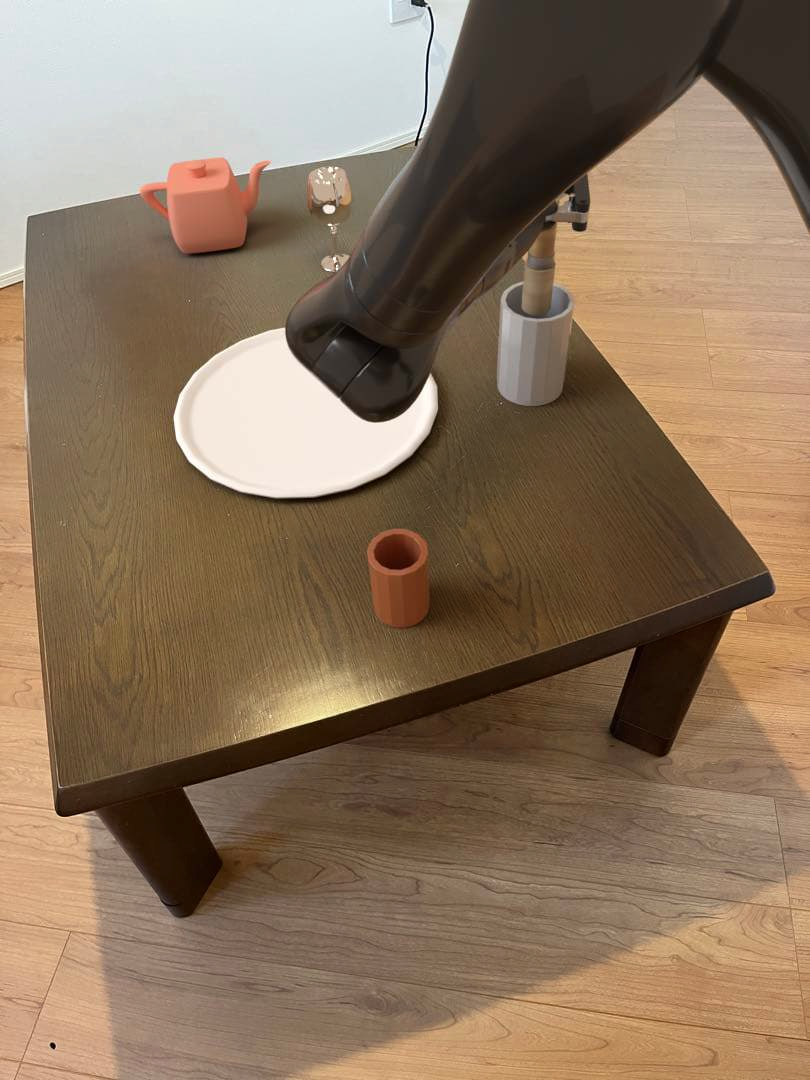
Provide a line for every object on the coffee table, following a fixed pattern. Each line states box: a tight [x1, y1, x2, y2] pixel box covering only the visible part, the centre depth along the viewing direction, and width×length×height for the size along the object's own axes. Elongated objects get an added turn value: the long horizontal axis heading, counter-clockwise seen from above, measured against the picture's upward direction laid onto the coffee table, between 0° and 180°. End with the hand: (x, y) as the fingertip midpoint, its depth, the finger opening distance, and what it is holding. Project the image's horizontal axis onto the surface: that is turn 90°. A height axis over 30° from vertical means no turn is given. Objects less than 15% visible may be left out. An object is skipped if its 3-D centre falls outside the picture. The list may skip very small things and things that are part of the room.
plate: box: [173, 327, 439, 499], centre depth 92 cm, size 29×29×1 cm
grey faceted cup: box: [496, 281, 576, 407], centre depth 89 cm, size 7×7×11 cm
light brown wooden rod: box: [521, 199, 561, 315], centre depth 78 cm, size 3×3×20 cm
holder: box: [366, 528, 431, 629], centre depth 71 cm, size 5×5×8 cm
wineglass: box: [306, 165, 354, 273], centre depth 107 cm, size 6×6×12 cm
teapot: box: [139, 157, 272, 254], centre depth 114 cm, size 12×18×10 cm, turn 100°
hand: (563, 154), depth 76 cm, fingers closed on light brown wooden rod, 2 cm apart
